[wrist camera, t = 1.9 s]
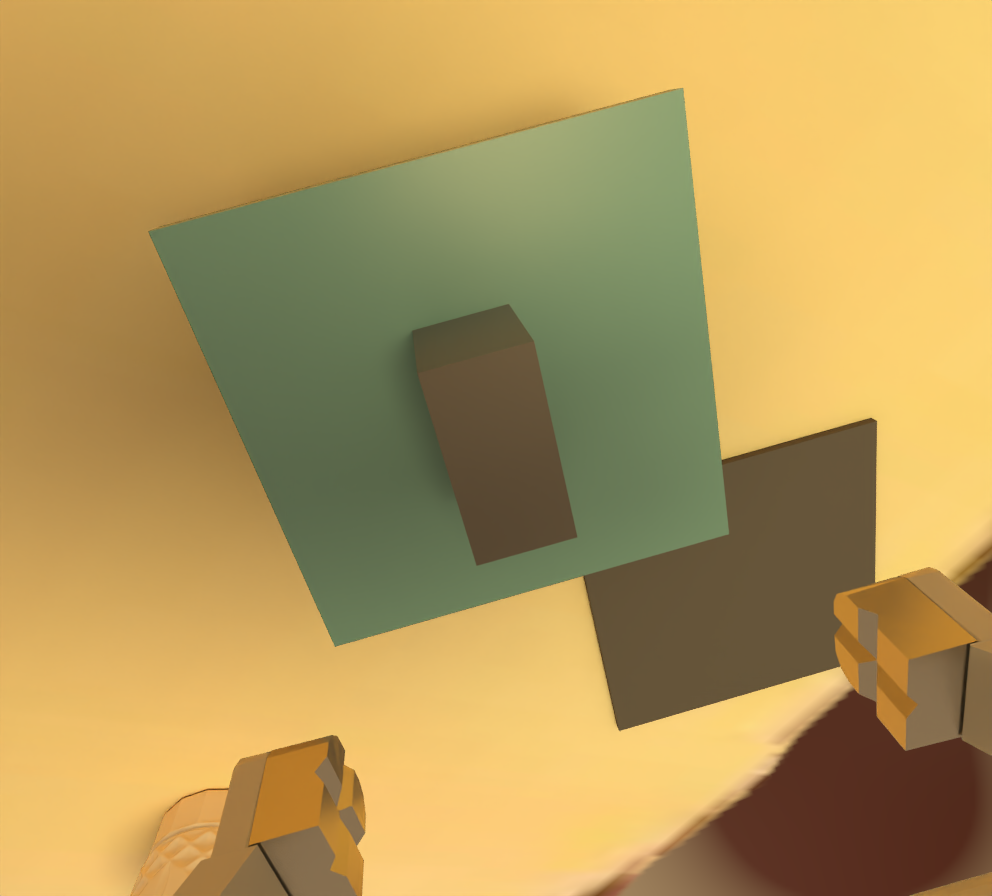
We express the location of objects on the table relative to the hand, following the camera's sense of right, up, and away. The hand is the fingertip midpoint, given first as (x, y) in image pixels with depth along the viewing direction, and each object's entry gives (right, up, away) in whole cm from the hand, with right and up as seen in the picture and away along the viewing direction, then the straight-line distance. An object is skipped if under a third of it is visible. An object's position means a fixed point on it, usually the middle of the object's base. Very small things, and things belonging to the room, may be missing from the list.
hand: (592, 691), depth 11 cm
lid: (-2, +6, +13) cm, 15 cm away
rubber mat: (+12, -4, +27) cm, 30 cm away
